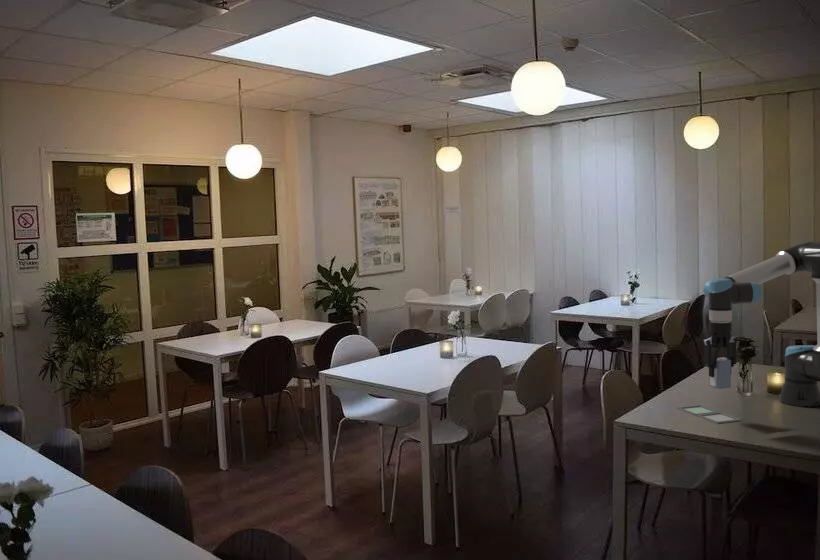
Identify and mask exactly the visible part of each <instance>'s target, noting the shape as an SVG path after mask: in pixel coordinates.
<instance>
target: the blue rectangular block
mask: <svg viewBox="0 0 820 560" xmlns="http://www.w3.org/2000/svg"><path fill="white" fill-rule="evenodd" d="M715 368H717V386H712V385H710V381H709V387H711V388H715V389H719V390H722V389H730V388H731V386H732V367H731V360H727V358H724V357H723V356H722V357H717V361H716V366H715Z"/></svg>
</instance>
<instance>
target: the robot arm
mask: <svg viewBox="0 0 820 560" xmlns="http://www.w3.org/2000/svg"><path fill="white" fill-rule="evenodd" d="M798 272H804V273H805V272H807V273H808V272H810V273H811V277H810V278H811V280H813V282H815V284H816V285H815V286H816V288H815V290H816V292H815V293H816V334H817V335H816V336H817V337H816V338H817V339H816V341H817V344H815V345H813V344H810V345H809V344H807V345H806V344H805V345H803V344H802V345H789V346H787V347H786V348H785V354H784V383H783V384H782V388H781V391H780V393H779V394H778V395H779V401H780V402H781V403H783V404H786V405H790V406H796V407H804V406H808V407H807V408H812V407H811V406H816V407H820V406H819V405H820V387H819V382H820V241H807V242H806V241H805V242H802V243H801V242H800V243H799V244H796V245H793V246H790V247H787V248H786V249H783V250H781V251H778V252H777V253H776V254H775V256H773V257H771V258H767V259H766V260H763V261H761V262H759V263H757V264H753V265H752V266H749V267H747V268H745V269H742V270H739V271H737V272H735V273H733V274H730V275H728V276H725V277H721V278H712V279H710V280H707V281H706V282H705V283H704V285H703V290H702V291H703V294H704V296H705V297H706V298H708V319H709V323H708V331H709V337H708V338H706V339H705V338H704V339H702V343H703V366H704V367H707V368H708V376H709V382H710V385H712V386H717V368H715V366H716V361H717V358H719V357H718V356H719V352H720V350H721V353H722V358H723V357H724V358H727V360H731V368H734V366H735V365H737V343H738V340H739V339H738V337H737V336H736V337H735V336H732V335H731V333H732V331H733V327H732V326H733V325H732V321H733V318H732V317H733V305H741V304H752V303H757V302H759V301H761V299H762V296H763V290H762V287H761V284H763V283H767V282H768V281H771V280H773V279H776V278H778V277H780V276H782V275H788V276H789V275H792V274H794V273H795V274H796V273H798Z"/></svg>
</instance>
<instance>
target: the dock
mask: <svg viewBox="0 0 820 560" xmlns="http://www.w3.org/2000/svg"><path fill="white" fill-rule="evenodd" d="M676 409H677V410H679V411H682V412H685V413H686V414H690V415H692V416H695V417H698V418H701V419H704V420H706V421H709V422H711V423H714V424H716V425H718V424H719V425H720V424H725V423H733V422H735V423H737V422H742V419H741V418H739V417H737V416H733V415H731V414H727V413H724V412H721V411H718V410H716V409H713V408H709V407H708V406H704V405H701V404H697V405H696V404H695V405H694V404H693V405H688V406H685V405H684V406H677V407H676Z"/></svg>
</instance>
